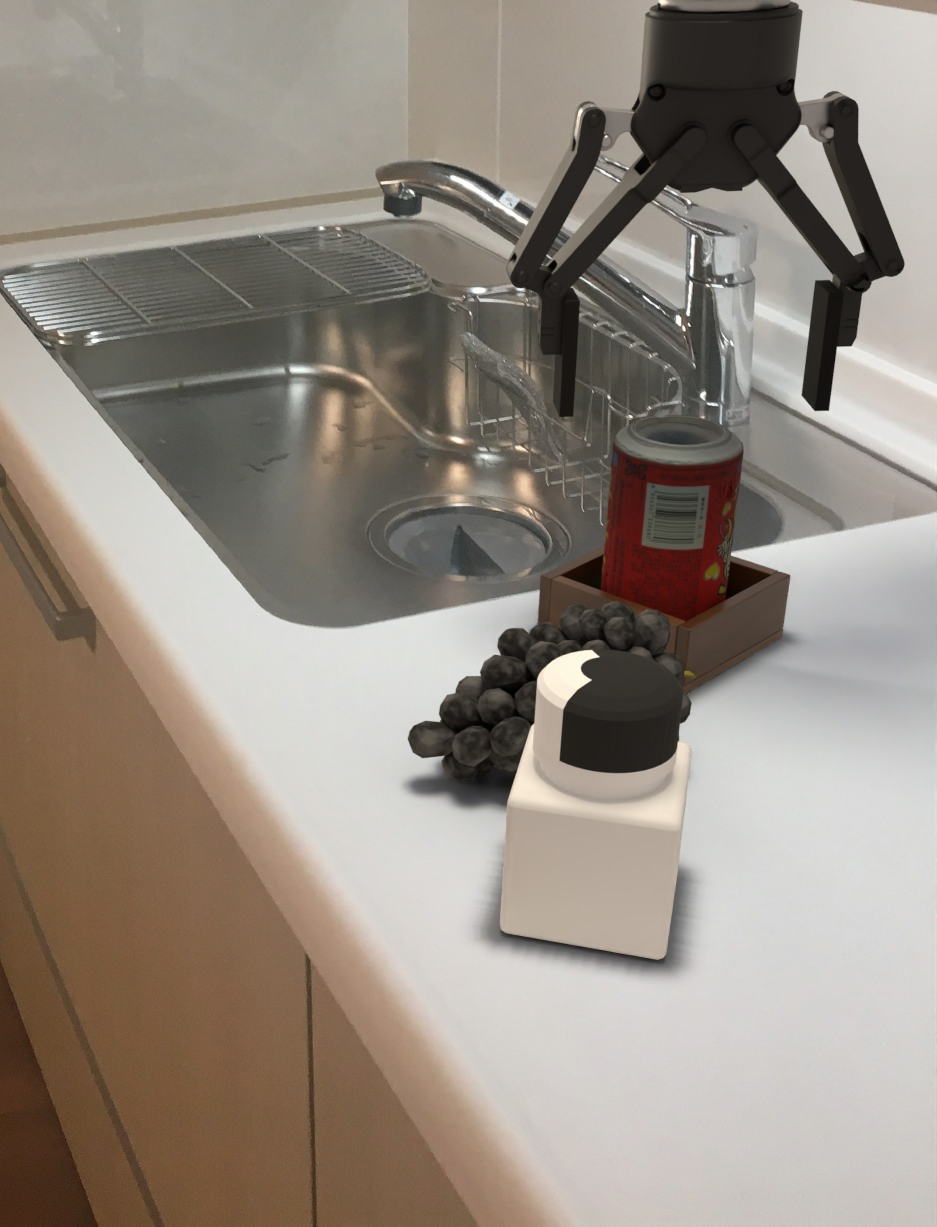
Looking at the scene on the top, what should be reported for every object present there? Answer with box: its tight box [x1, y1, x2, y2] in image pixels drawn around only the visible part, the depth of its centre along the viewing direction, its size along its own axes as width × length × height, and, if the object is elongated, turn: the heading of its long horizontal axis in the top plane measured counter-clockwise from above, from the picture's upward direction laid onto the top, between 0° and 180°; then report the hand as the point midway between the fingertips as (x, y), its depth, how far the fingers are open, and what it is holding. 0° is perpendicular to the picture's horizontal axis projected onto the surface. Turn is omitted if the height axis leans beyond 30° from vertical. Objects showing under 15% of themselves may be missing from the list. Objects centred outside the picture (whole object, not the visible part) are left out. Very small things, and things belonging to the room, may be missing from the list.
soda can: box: [601, 414, 745, 622], centre depth 96 cm, size 7×7×12 cm
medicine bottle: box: [499, 650, 693, 961], centre depth 74 cm, size 7×7×12 cm
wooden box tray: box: [537, 545, 791, 694], centre depth 98 cm, size 10×10×4 cm
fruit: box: [407, 601, 696, 784], centre depth 86 cm, size 9×8×15 cm
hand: (688, 406), depth 93 cm, fingers open, 13 cm apart
